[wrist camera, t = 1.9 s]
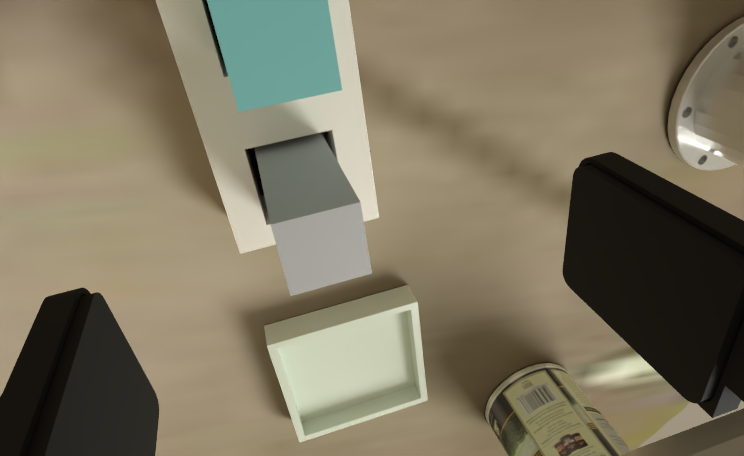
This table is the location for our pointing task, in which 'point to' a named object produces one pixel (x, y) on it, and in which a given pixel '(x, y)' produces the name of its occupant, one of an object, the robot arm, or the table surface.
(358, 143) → the frame
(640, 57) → the table surface
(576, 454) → the coffee can
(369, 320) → the tray
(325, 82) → the teal plug
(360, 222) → the grey plug
